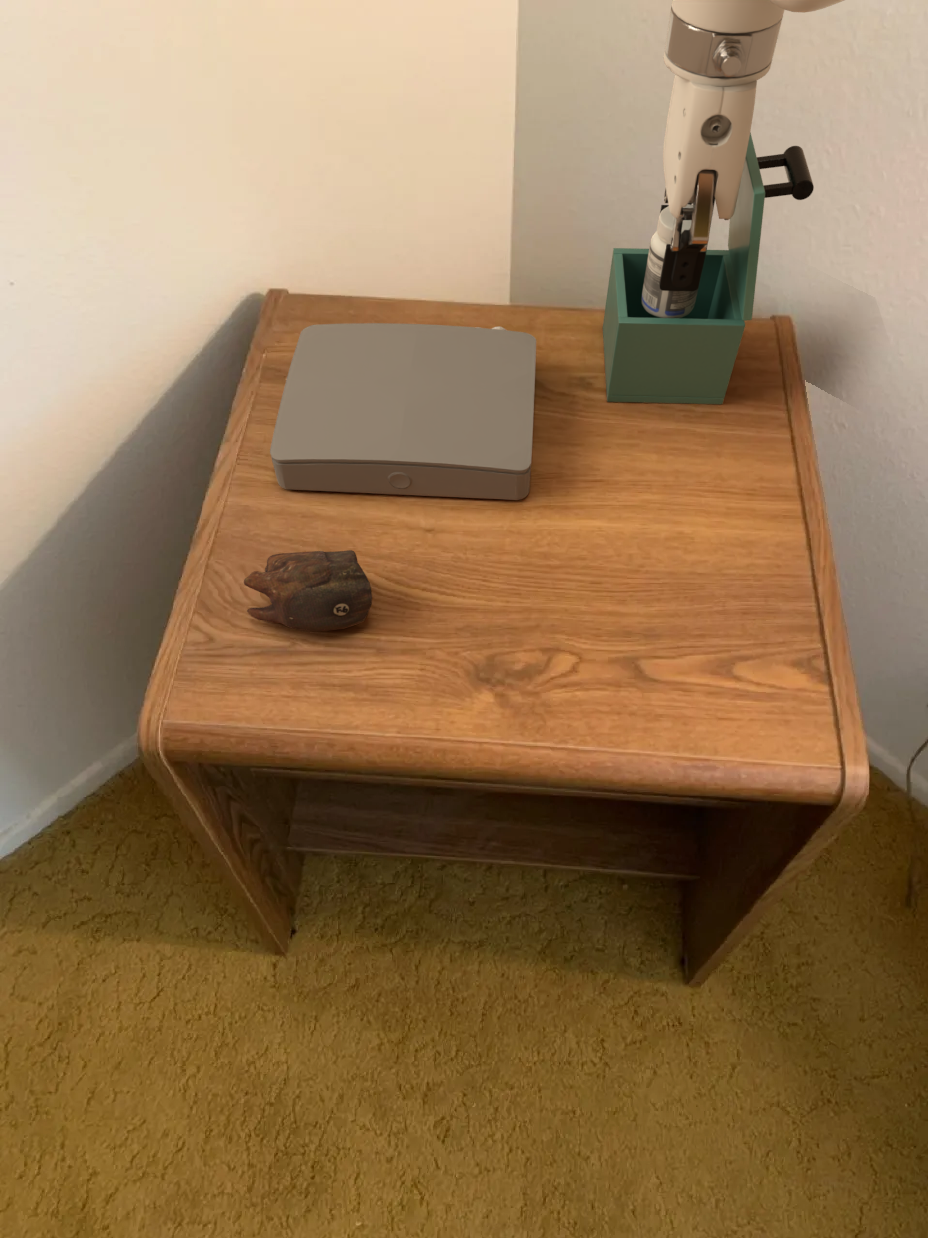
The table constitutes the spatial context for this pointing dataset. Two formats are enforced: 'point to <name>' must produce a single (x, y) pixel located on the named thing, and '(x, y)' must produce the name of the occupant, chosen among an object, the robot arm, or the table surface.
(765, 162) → the lid
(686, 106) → the robot arm
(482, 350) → the electronic device
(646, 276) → the pill bottle
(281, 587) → the dark brown rock
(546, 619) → the table surface
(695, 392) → the green box
